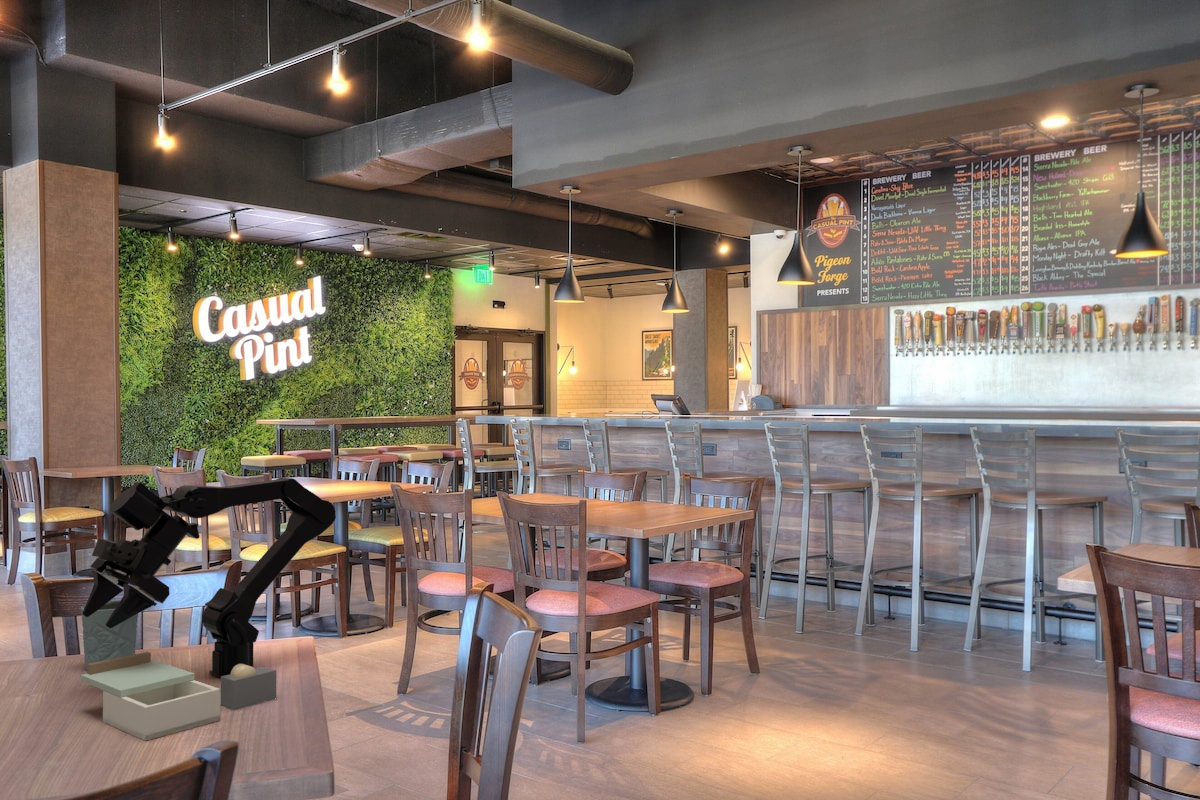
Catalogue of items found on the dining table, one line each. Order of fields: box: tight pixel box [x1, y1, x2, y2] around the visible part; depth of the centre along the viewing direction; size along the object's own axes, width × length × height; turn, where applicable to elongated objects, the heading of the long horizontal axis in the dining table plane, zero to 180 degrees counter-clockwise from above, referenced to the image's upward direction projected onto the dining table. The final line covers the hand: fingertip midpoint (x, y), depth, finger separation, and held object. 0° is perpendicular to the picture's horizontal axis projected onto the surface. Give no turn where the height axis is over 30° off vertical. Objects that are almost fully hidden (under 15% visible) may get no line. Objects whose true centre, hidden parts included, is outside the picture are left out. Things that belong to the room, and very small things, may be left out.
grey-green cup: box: [80, 599, 139, 671], centre depth 181 cm, size 10×10×12 cm
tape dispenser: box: [220, 664, 277, 711], centre depth 159 cm, size 8×4×7 cm, turn 142°
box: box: [102, 679, 221, 742], centre depth 149 cm, size 12×14×5 cm
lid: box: [80, 651, 195, 697], centre depth 154 cm, size 12×14×3 cm
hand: (95, 621), depth 159 cm, fingers open, 9 cm apart
